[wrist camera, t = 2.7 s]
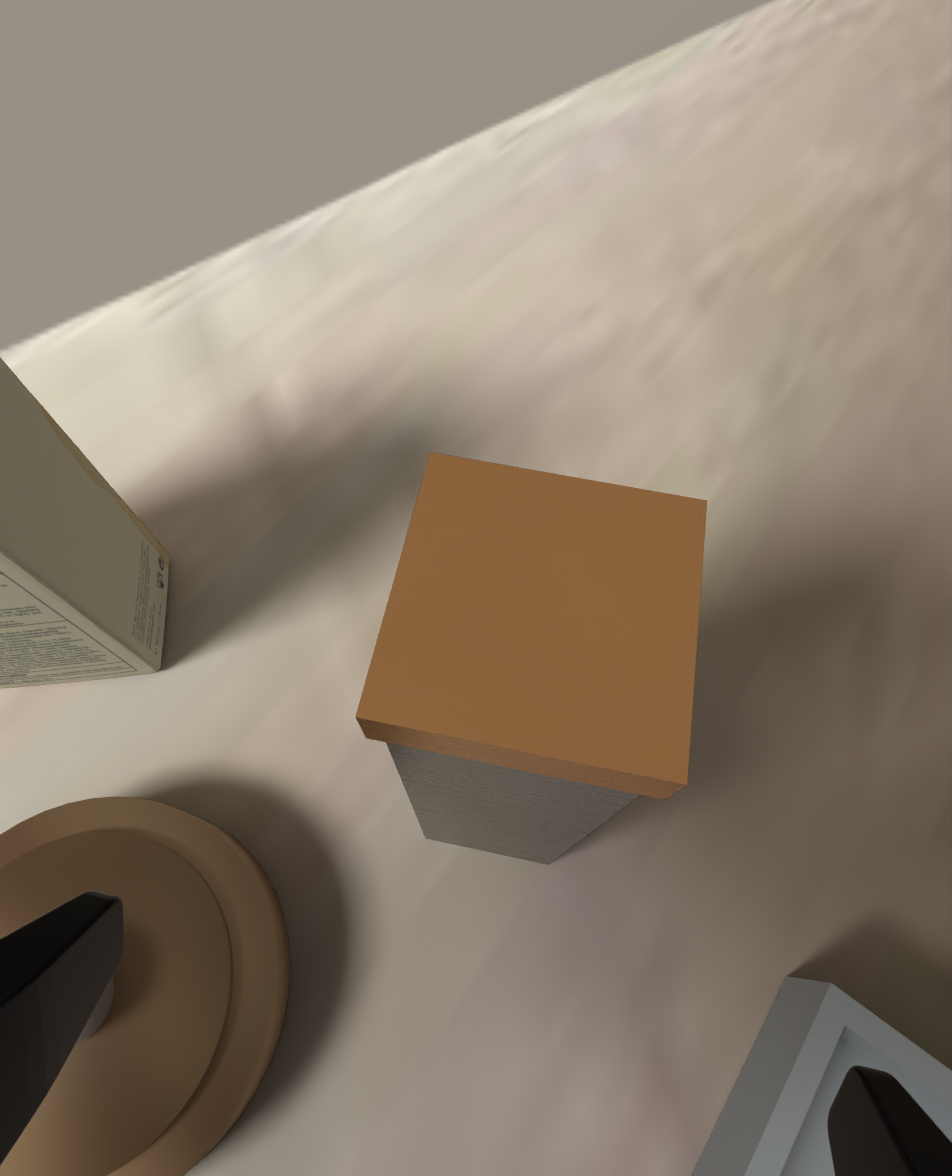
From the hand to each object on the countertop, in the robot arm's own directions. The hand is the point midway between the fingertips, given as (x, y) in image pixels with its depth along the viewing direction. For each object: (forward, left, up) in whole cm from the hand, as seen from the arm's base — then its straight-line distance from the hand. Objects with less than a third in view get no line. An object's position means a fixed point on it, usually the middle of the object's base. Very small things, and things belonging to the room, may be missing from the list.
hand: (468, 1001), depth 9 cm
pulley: (-6, +7, -11) cm, 14 cm away
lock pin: (+4, +2, -11) cm, 12 cm away
